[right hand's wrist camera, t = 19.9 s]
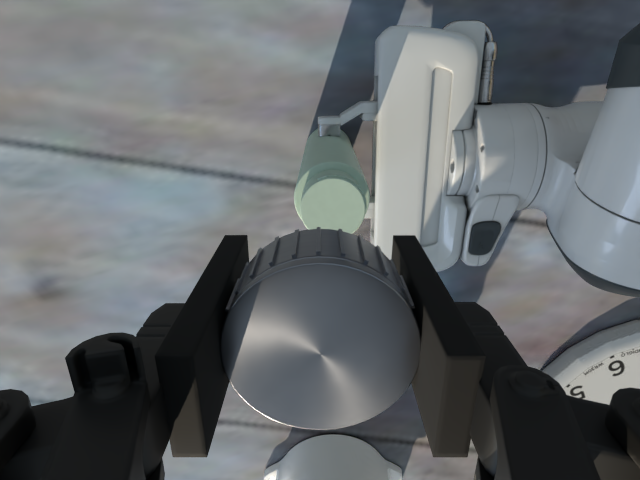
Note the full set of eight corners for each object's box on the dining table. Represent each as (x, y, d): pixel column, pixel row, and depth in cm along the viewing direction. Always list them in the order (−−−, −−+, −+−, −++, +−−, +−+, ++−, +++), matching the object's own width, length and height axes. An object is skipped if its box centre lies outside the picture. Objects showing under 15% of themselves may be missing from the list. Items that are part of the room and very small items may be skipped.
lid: (225, 227, 12) (203, 262, 9) (411, 223, 11) (433, 257, 9) (242, 376, 13) (228, 433, 11) (402, 373, 13) (417, 431, 11)
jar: (356, 163, 41) (383, 234, 23) (314, 177, 42) (307, 257, 24) (343, 119, 40) (360, 157, 21) (299, 134, 40) (279, 184, 22)
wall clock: (750, 279, 44) (790, 459, 53) (735, 272, 45) (777, 448, 55) (483, 392, 49) (563, 536, 59) (478, 383, 51) (557, 525, 61)
